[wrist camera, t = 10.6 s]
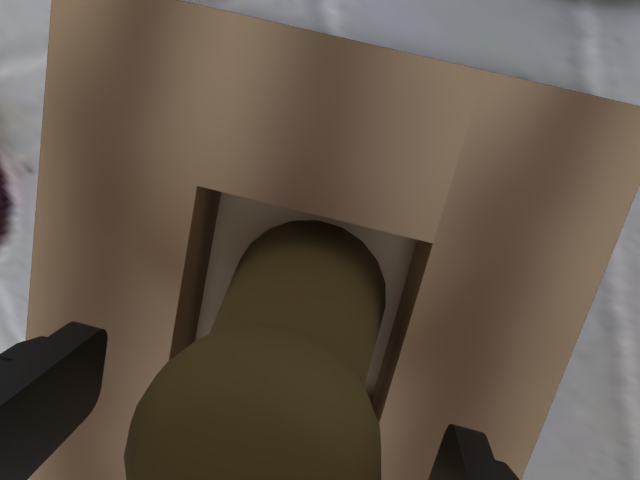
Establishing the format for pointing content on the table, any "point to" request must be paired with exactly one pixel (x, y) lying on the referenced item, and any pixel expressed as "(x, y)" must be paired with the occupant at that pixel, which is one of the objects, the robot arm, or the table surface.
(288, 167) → the socket block
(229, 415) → the olive knobbed peg
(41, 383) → the robot arm
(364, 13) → the table surface
